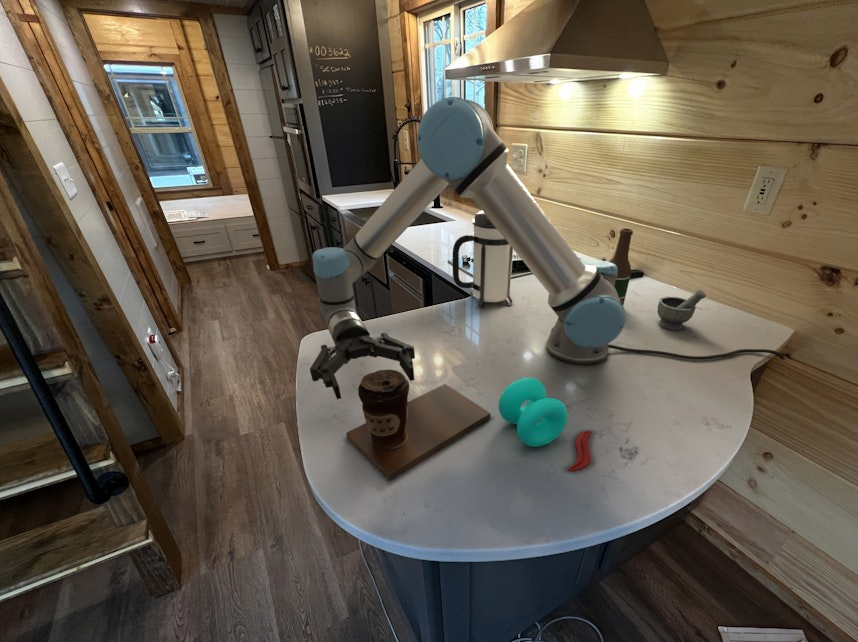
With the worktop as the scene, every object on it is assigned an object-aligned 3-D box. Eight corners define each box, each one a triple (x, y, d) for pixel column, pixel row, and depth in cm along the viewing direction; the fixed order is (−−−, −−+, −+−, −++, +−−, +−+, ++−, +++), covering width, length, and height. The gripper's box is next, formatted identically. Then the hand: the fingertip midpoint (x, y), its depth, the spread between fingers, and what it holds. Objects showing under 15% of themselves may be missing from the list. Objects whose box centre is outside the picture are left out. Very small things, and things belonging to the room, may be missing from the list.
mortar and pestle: (647, 324, 118) (658, 285, 111) (660, 315, 123) (671, 277, 117) (686, 337, 111) (700, 296, 105) (699, 327, 117) (713, 287, 110)
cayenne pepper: (579, 476, 68) (581, 468, 67) (555, 464, 70) (556, 456, 69) (607, 439, 76) (609, 431, 75) (584, 429, 78) (586, 421, 77)
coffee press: (482, 287, 141) (485, 195, 125) (522, 298, 133) (530, 201, 117) (451, 303, 129) (450, 203, 113) (493, 316, 121) (499, 210, 105)
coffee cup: (403, 459, 69) (397, 398, 62) (357, 452, 70) (346, 391, 63) (418, 427, 76) (414, 368, 69) (377, 420, 77) (368, 363, 70)
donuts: (519, 456, 72) (524, 412, 66) (494, 423, 80) (497, 381, 74) (566, 441, 75) (575, 398, 70) (538, 411, 83) (543, 369, 77)
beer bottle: (625, 306, 129) (644, 228, 116) (618, 315, 123) (637, 234, 110) (601, 301, 132) (616, 225, 119) (593, 309, 126) (609, 230, 113)
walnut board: (445, 389, 89) (444, 383, 88) (490, 418, 81) (490, 413, 80) (347, 438, 75) (345, 432, 74) (389, 481, 67) (388, 474, 66)
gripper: (405, 338, 95) (440, 383, 79) (293, 361, 86) (308, 418, 70) (402, 308, 91) (439, 350, 75) (285, 329, 82) (298, 382, 66)
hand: (376, 383), depth 73 cm, fingers open, 13 cm apart
